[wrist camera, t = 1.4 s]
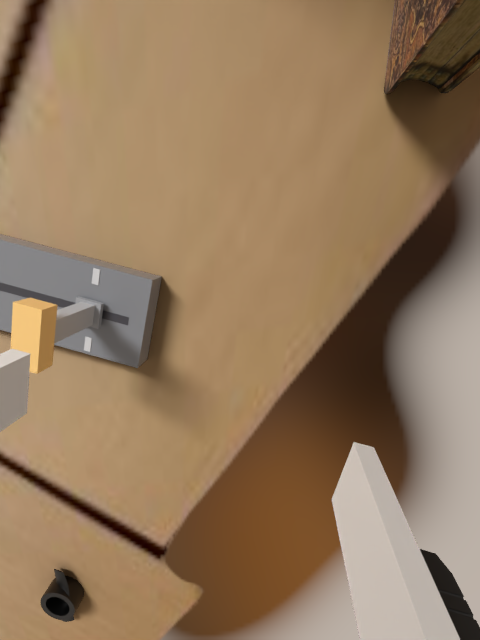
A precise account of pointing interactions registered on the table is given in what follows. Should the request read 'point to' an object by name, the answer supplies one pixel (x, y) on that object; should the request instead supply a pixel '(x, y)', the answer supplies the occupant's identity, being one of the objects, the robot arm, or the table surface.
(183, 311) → the table surface
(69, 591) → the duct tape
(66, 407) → the table surface
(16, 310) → the fader knob
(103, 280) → the fader console
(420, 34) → the book
